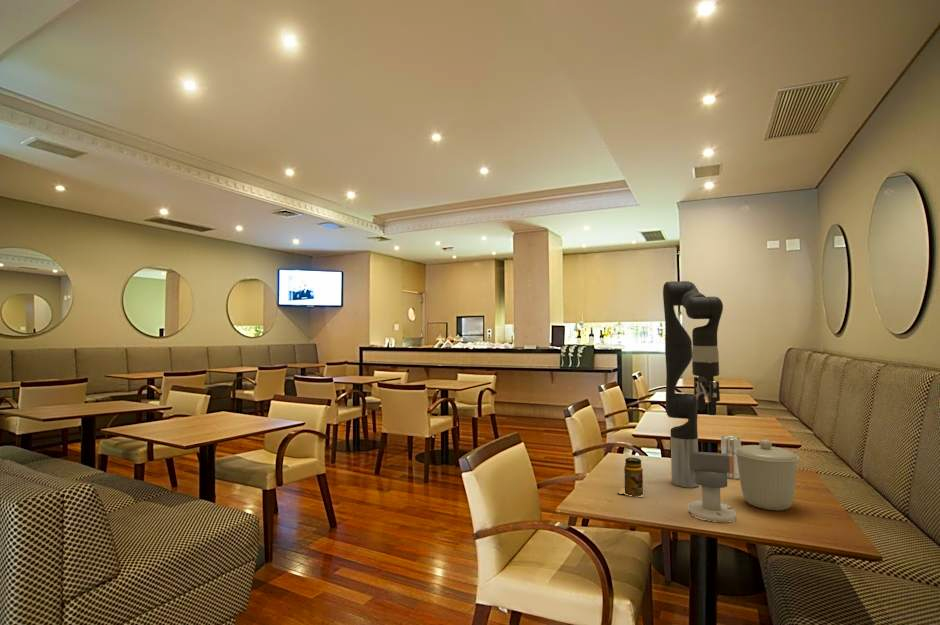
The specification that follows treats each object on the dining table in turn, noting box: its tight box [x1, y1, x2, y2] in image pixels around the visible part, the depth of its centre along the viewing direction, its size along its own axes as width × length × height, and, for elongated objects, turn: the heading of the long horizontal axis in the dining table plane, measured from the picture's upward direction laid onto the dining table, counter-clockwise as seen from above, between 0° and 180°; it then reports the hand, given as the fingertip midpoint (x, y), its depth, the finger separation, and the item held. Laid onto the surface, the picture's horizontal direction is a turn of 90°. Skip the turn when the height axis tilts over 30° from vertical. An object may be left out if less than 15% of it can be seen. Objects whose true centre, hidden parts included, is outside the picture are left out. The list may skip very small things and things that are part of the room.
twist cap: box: [688, 451, 734, 489], centre depth 148 cm, size 12×9×9 cm
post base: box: [688, 486, 737, 523], centre depth 147 cm, size 13×13×9 cm
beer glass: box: [720, 435, 742, 480], centre depth 186 cm, size 7×7×15 cm
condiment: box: [623, 457, 646, 496], centre depth 167 cm, size 7×8×12 cm
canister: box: [734, 438, 801, 511], centre depth 155 cm, size 18×18×21 cm
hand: (706, 412), depth 149 cm, fingers open, 8 cm apart
